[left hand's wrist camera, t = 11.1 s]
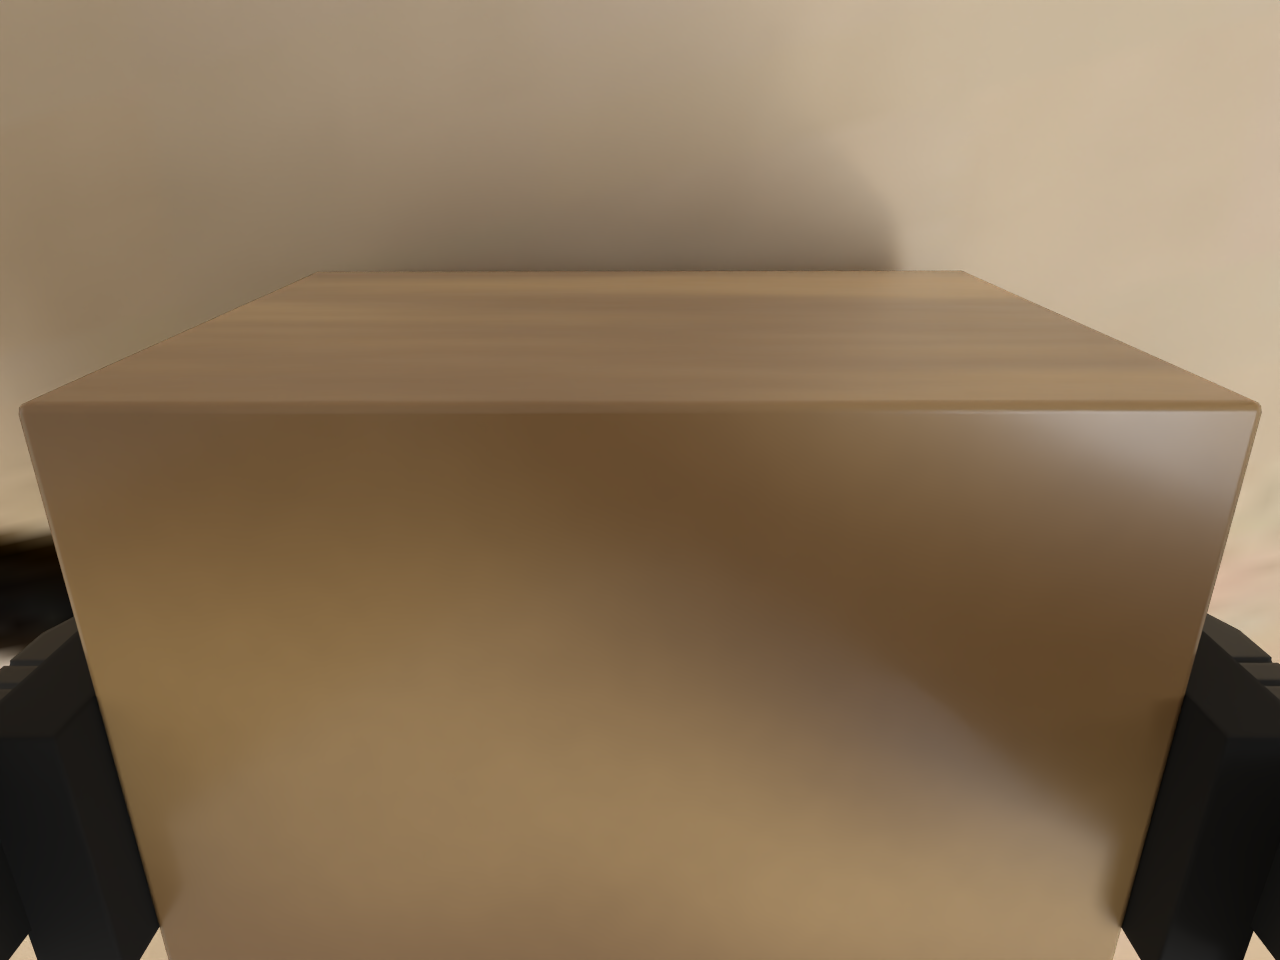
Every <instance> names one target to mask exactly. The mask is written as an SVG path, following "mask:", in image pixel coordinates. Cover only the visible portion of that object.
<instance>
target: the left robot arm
mask: <svg viewBox="0 0 1280 960" xmlns="http://www.w3.org/2000/svg"><path fill="white" fill-rule="evenodd" d="M159 927H160V926H159V923H158V919H157V915H156V912H155V908H154V904H153V901H152V897H151V894H150V890H149V886H148V883H147V879H146V875H145V872H144V868H143V864H142V861H141V857H140V854H139V850H138V846H137V843H136V839H135V835H134V832H133V828H132V824H131V821H130V817H129V814H128V810H127V806H126V803H125V799H124V795H123V792H122V788H121V784H120V781H119V777H118V773H117V770H116V766H115V763H114V759H113V755H112V752H111V748H110V744H109V741H108V737H107V733H106V730H105V726H104V723H103V719H102V715H101V712H100V708H99V704H98V701H97V697H96V693H95V690H94V686H93V683H92V679H91V675H90V672H89V668H88V664H87V661H86V657H85V653H84V650H83V646H82V643H81V639H80V635H79V632H78V628H77V624H76V621H75V617H73V618H71V619H69V620H67V621H65V622H63V623H61V624H59V625H57V626H55V627H53V628H51V629H49V630H48V631H46V632H44V633H42V634H41V635H40V636H38V637H37V638H36V639H35V640H34V641H33V642H31V643H30V644H29V645H28V646H27V647H26V648H24V649H23V650H22V651H21V652H20V653H19V654H17V655H16V656H15V657H14V658H13V659H11V660H10V666H3V667H2V668H1V669H0V960H9V959H10V957H11V956H12V955H13V953H14V952H15V951H16V949H17V948H18V947H19V945H20V944H21V943H22V942H23V940H24V939H25V938H26V936H27V935H29V937H30V940H31V943H32V946H33V949H34V951H35V954H36V957H37V960H140V958H141V957H142V955H143V953H144V952H145V950H146V948H147V947H148V945H149V943H150V942H151V940H152V938H153V937H154V935H155V933H156V932H157V930H158V928H159ZM1122 929H1123V931H1124V932H1125V934H1126V936H1127V937H1128V939H1129V941H1130V942H1131V944H1132V946H1133V947H1134V949H1135V951H1136V952H1137V954H1138V956H1139V957H1140V959H1141V960H1243V959H1244V956H1245V953H1246V951H1247V948H1248V945H1249V942H1250V939H1251V937H1252V934H1253V931H1254V932H1255V933H1256V935H1257V936H1258V937H1259V938H1260V940H1261V941H1262V942H1263V944H1264V945H1265V946H1266V948H1267V949H1268V950H1269V952H1270V953H1271V954H1272V956H1273V957H1274V958H1275V960H1280V664H1279V663H1272V661H1271V657H1270V656H1269V655H1268V654H1267V653H1266V652H1264V651H1263V650H1262V649H1261V648H1260V647H1259V646H1257V645H1256V644H1255V643H1254V642H1253V641H1251V640H1250V639H1249V638H1248V637H1247V636H1246V635H1244V634H1243V633H1242V632H1241V631H1240V630H1238V629H1236V628H1234V627H1232V626H1230V625H1228V624H1226V623H1224V622H1222V621H1221V620H1219V619H1217V618H1215V617H1213V616H1211V615H1209V614H1207V615H1206V618H1205V622H1204V626H1203V629H1202V633H1201V637H1200V640H1199V644H1198V648H1197V651H1196V655H1195V659H1194V662H1193V666H1192V670H1191V673H1190V677H1189V681H1188V685H1187V688H1186V692H1185V696H1184V699H1183V703H1182V707H1181V710H1180V714H1179V718H1178V721H1177V725H1176V729H1175V732H1174V736H1173V740H1172V743H1171V747H1170V751H1169V754H1168V758H1167V762H1166V765H1165V769H1164V773H1163V776H1162V780H1161V784H1160V787H1159V791H1158V795H1157V798H1156V802H1155V806H1154V809H1153V813H1152V817H1151V820H1150V824H1149V828H1148V831H1147V835H1146V839H1145V842H1144V846H1143V850H1142V853H1141V857H1140V861H1139V864H1138V868H1137V872H1136V875H1135V879H1134V883H1133V887H1132V890H1131V894H1130V898H1129V901H1128V905H1127V909H1126V912H1125V916H1124V920H1123V923H1122Z"/></svg>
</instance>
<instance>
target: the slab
mask: <svg viewBox="0 0 1280 960" xmlns="http://www.w3.org/2000/svg"><path fill="white" fill-rule="evenodd" d="M1261 413H1262V412H1261V406H1260V404H1259V403H1258V402H1255V401H1253V400H1251V399H1249V398H1246V397H1244V396H1242V395H1240V394H1237V393H1235V392H1233V391H1231V390H1228V389H1226V388H1224V387H1222V386H1219V385H1217V384H1215V383H1213V382H1210V381H1208V380H1206V379H1204V378H1202V377H1199V376H1197V375H1195V374H1193V373H1190V372H1188V371H1186V370H1184V369H1181V368H1179V367H1177V366H1175V365H1172V364H1170V363H1168V362H1166V361H1163V360H1161V359H1159V358H1157V357H1154V356H1152V355H1150V354H1148V353H1145V352H1143V351H1141V350H1139V349H1136V348H1134V347H1132V346H1130V345H1127V344H1125V343H1123V342H1121V341H1118V340H1116V339H1114V338H1112V337H1109V336H1107V335H1105V334H1103V333H1100V332H1098V331H1096V330H1094V329H1091V328H1089V327H1087V326H1085V325H1082V324H1080V323H1078V322H1076V321H1073V320H1071V319H1069V318H1067V317H1064V316H1062V315H1060V314H1058V313H1055V312H1053V311H1051V310H1049V309H1046V308H1044V307H1042V306H1040V305H1037V304H1035V303H1033V302H1031V301H1028V300H1026V299H1024V298H1022V297H1019V296H1017V295H1015V294H1013V293H1010V292H1008V291H1006V290H1004V289H1001V288H999V287H997V286H995V285H992V284H990V283H988V282H986V281H983V280H981V279H979V278H977V277H974V276H972V275H970V274H968V273H965V272H963V271H422V272H316V273H314V274H312V275H310V276H307V277H305V278H303V279H301V280H298V281H296V282H294V283H292V284H289V285H287V286H285V287H283V288H281V289H278V290H276V291H274V292H272V293H269V294H267V295H265V296H263V297H260V298H258V299H256V300H254V301H252V302H249V303H247V304H245V305H243V306H240V307H238V308H236V309H234V310H231V311H229V312H227V313H225V314H222V315H220V316H218V317H216V318H214V319H211V320H209V321H207V322H205V323H202V324H200V325H198V326H196V327H193V328H191V329H189V330H187V331H185V332H182V333H180V334H178V335H176V336H173V337H171V338H169V339H167V340H164V341H162V342H160V343H158V344H155V345H153V346H151V347H149V348H147V349H144V350H142V351H140V352H138V353H135V354H133V355H131V356H129V357H126V358H124V359H122V360H120V361H118V362H115V363H113V364H111V365H109V366H106V367H104V368H102V369H100V370H97V371H95V372H93V373H91V374H88V375H86V376H84V377H82V378H80V379H77V380H75V381H73V382H71V383H68V384H66V385H64V386H62V387H59V388H57V389H55V390H53V391H51V392H48V393H46V394H44V395H42V396H39V397H37V398H35V399H33V400H30V401H28V402H26V403H24V404H22V405H21V406H20V407H19V417H20V421H21V424H22V428H23V432H24V435H25V439H26V442H27V446H28V450H29V453H30V457H31V461H32V464H33V468H34V472H35V475H36V479H37V482H38V486H39V490H40V493H41V497H42V501H43V504H44V508H45V512H46V515H47V519H48V522H49V526H50V530H51V533H52V537H53V541H54V544H55V548H56V552H57V555H58V559H59V562H60V566H61V570H62V573H63V577H64V581H65V584H66V588H67V592H68V595H69V599H70V603H71V606H72V610H73V613H74V617H75V621H76V624H77V628H78V632H79V635H80V639H81V643H82V646H83V650H84V653H85V657H86V661H87V664H88V668H89V672H90V675H91V679H92V683H93V686H94V690H95V693H96V697H97V701H98V704H99V708H100V712H101V715H102V719H103V723H104V726H105V730H106V733H107V737H108V741H109V744H110V748H111V752H112V755H113V759H114V763H115V766H116V770H117V773H118V777H119V781H120V784H121V788H122V792H123V795H124V799H125V803H126V806H127V810H128V814H129V817H130V821H131V824H132V828H133V832H134V835H135V839H136V843H137V846H138V850H139V854H140V857H141V861H142V864H143V868H144V872H145V875H146V879H147V883H148V886H149V890H150V894H151V897H152V901H153V904H154V908H155V912H156V915H157V919H158V923H159V926H160V930H161V934H162V937H163V941H164V944H165V948H166V952H167V955H168V959H169V960H1113V956H1114V953H1115V949H1116V945H1117V942H1118V938H1119V934H1120V931H1121V927H1122V923H1123V920H1124V916H1125V912H1126V909H1127V905H1128V901H1129V898H1130V894H1131V890H1132V887H1133V883H1134V879H1135V875H1136V872H1137V868H1138V864H1139V861H1140V857H1141V853H1142V850H1143V846H1144V842H1145V839H1146V835H1147V831H1148V828H1149V824H1150V820H1151V817H1152V813H1153V809H1154V806H1155V802H1156V798H1157V795H1158V791H1159V787H1160V784H1161V780H1162V776H1163V773H1164V769H1165V765H1166V762H1167V758H1168V754H1169V751H1170V747H1171V743H1172V740H1173V736H1174V732H1175V729H1176V725H1177V721H1178V718H1179V714H1180V710H1181V707H1182V703H1183V699H1184V696H1185V692H1186V688H1187V685H1188V681H1189V677H1190V673H1191V670H1192V666H1193V662H1194V659H1195V655H1196V651H1197V648H1198V644H1199V640H1200V637H1201V633H1202V629H1203V626H1204V622H1205V618H1206V615H1207V611H1208V607H1209V604H1210V600H1211V596H1212V593H1213V589H1214V585H1215V582H1216V578H1217V574H1218V571H1219V567H1220V563H1221V560H1222V556H1223V552H1224V549H1225V545H1226V541H1227V538H1228V534H1229V530H1230V527H1231V523H1232V519H1233V516H1234V512H1235V508H1236V505H1237V501H1238V497H1239V494H1240V490H1241V486H1242V483H1243V479H1244V475H1245V471H1246V468H1247V464H1248V460H1249V457H1250V453H1251V449H1252V446H1253V442H1254V438H1255V435H1256V431H1257V427H1258V424H1259V420H1260V416H1261Z"/></svg>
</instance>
